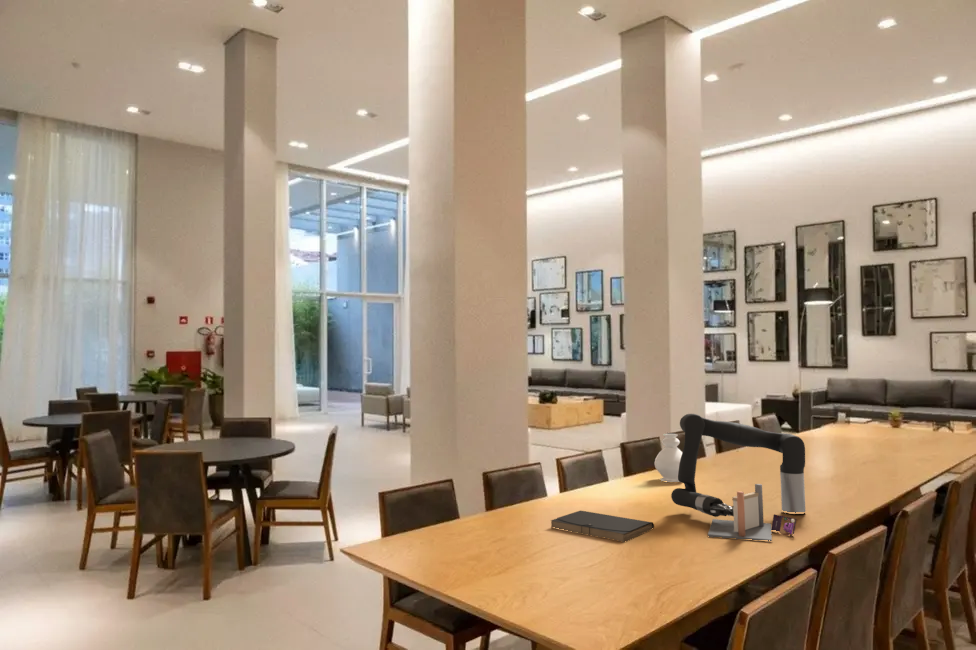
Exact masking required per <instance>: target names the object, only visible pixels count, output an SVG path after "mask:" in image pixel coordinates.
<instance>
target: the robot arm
mask: <svg viewBox="0 0 976 650" xmlns="http://www.w3.org/2000/svg"><path fill="white" fill-rule="evenodd" d="M679 426H680V429H681V430H682V431H683V433H684V445H683V450H682V451H681V452H682V456H681V459H680V464H679V471H678V480H679V481H680V483H682V484H684V488H681V487H678V488H674V489H673V490H672V491H671V495H670V498H671V500H672V502H673V503H674V504H676V505H678V506H680V507H685V508H691V509H693V510H695V511H698V512H700V513H702V514H705V515H708V516H711V517H715V518H717V517H720V516H721V517H722V516H723V517H727V516H729V517H734V512H733V505H729V504H727V503H724V502H723V500H722V499H721V498H719V497H716V496H713V495H710V494H703V493H700V492H697V489H696V488H697V487H696V482H695V480H696V471H697V462H698V454H699V448H700V443H701V440H702V436H706V437H710V438H714V439H716V440H720V441H723V442H725V443H730V444H733V445H736V446H741V447H748V448H764V449H767V450H772V451H775V452H778V453H781V454H782V462H781V464H780V465H779V472H780V474H779V475H780V494H781V495H780V496H781V497H780V499H781V511H782V510H783V511H787V512H795V513H796V512H805V511H806V494H805V492H806V490H805V489H806V487H805V467H806V446H805V445H806V444H805V442H804V441H803V439H802V438H801V437H800V436H797V435H795V434H792V433H784V432H783V433H782V432H773V431H767V430H763V429H760V428H758V427H755V426H751V425H748V424H743V423H739V422H732V421H721V420H713V419H709V418H705V417H702V416H701V415H699V414H697V413H687V414H684V415H682V417H681V418H680V420H679Z"/></svg>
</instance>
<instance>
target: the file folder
mask: <svg viewBox="0 0 976 650" xmlns="http://www.w3.org/2000/svg"><path fill="white" fill-rule="evenodd" d="M550 522H551V523H550V525H551V528H552V527H555V528H559V529H564V530H568V531H572V532H571V533H573V532H578V533H577V534H579V533H583V534H582V535H585V534H588V535H587V536H589V537H595V536H598V537H597V538H601V537H605V538H604V539H606V538H609V539H608V540H611V539H614V540H613V541H616V540H618V541H617V542H620V541H622V542H621V543H626V542H629V541H630V539H631V540H632V538H633V539H634V537H635V538H636V537H639V536H641V535H643V534H645V533H644V532H646V533H648V532H650V531H651V529H652V528H653V529H654V528H655V524H654V522H652V521H648V520H647V521H645V520H640V519H634V518H627V517H622V516H618V515H616V516H615V515H611V514H604V513H597V512H592V511H585V510H578V511H575V512H572V513H568V514H565V515H562V516H559V517H557V518H554V519H550ZM653 529H652V530H653ZM649 530H650V531H649ZM568 531H567V532H568ZM647 531H648V532H647ZM642 533H643V534H642ZM590 535H592V536H590ZM628 540H629V541H628ZM625 541H626V542H625Z"/></svg>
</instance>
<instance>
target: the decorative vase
mask: <svg viewBox="0 0 976 650" xmlns="http://www.w3.org/2000/svg"><path fill="white" fill-rule="evenodd" d="M662 436H663V437H664V438H663V439H662V440H661V444H662V445H663V446H664V447H663V448H662V449H661V450H660V451H659V452H658V454H657V455H656V457H655V459H654V467H655V469H656V471H657V472H658V473H659V474H660V475H661V478H660V479H659V480H661V481H660V482H662V481H667V482H680V481H679V480H678V471H679V464H680V459H681V456H682V452H683V451H682V450H681V449H680V448H679V447H678V446H679V445H680V443H681V441H680V440H679V438H677V437H678V433H663V435H662ZM667 482H666V483H667ZM680 483H681V482H680Z"/></svg>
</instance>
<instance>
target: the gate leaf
mask: <svg viewBox="0 0 976 650" xmlns="http://www.w3.org/2000/svg"><path fill="white" fill-rule="evenodd" d="M758 496H759V493H756V492H755V491H753V492H749V493H744V510H745V530H746V529H750V528H753V527H756V526H759V508H758ZM732 503H733V504H732V506H733V512H734V516H733V521H734V531H736V532H738V507H737V495H736V496H732Z"/></svg>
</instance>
